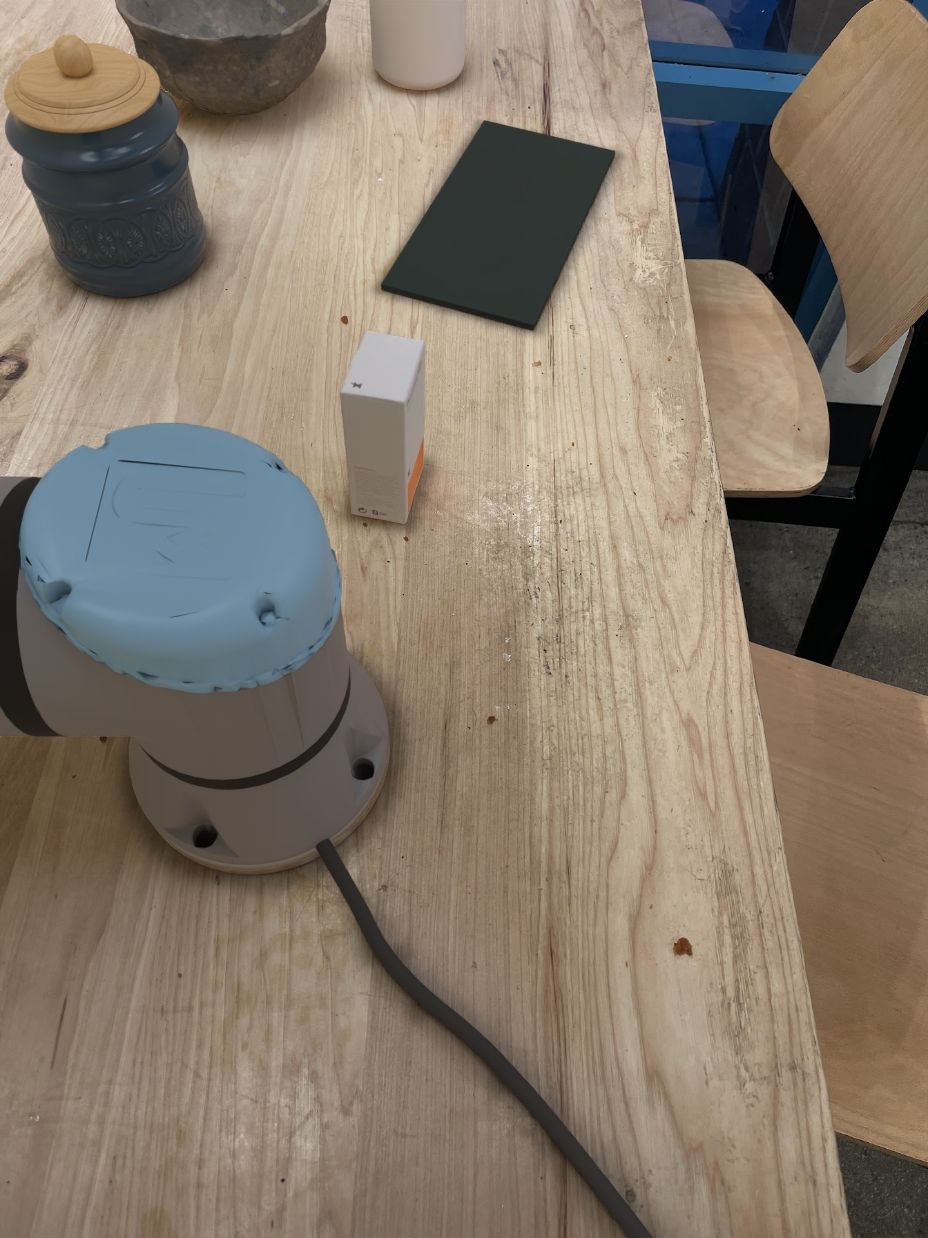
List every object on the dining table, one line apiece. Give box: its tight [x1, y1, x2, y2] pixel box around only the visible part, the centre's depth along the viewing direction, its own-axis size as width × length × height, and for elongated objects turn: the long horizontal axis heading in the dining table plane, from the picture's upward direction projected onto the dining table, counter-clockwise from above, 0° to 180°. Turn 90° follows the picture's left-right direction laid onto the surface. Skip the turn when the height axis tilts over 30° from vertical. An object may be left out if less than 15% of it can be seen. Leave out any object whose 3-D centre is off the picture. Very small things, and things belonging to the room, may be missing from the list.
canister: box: [3, 34, 207, 298], centre depth 71 cm, size 13×13×18 cm
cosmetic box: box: [339, 329, 426, 525], centre depth 60 cm, size 6×4×12 cm
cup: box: [368, 0, 468, 91], centre depth 92 cm, size 10×10×10 cm
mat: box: [380, 119, 616, 331], centre depth 83 cm, size 28×14×1 cm, turn 161°
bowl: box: [114, 0, 332, 116], centre depth 89 cm, size 21×21×10 cm
